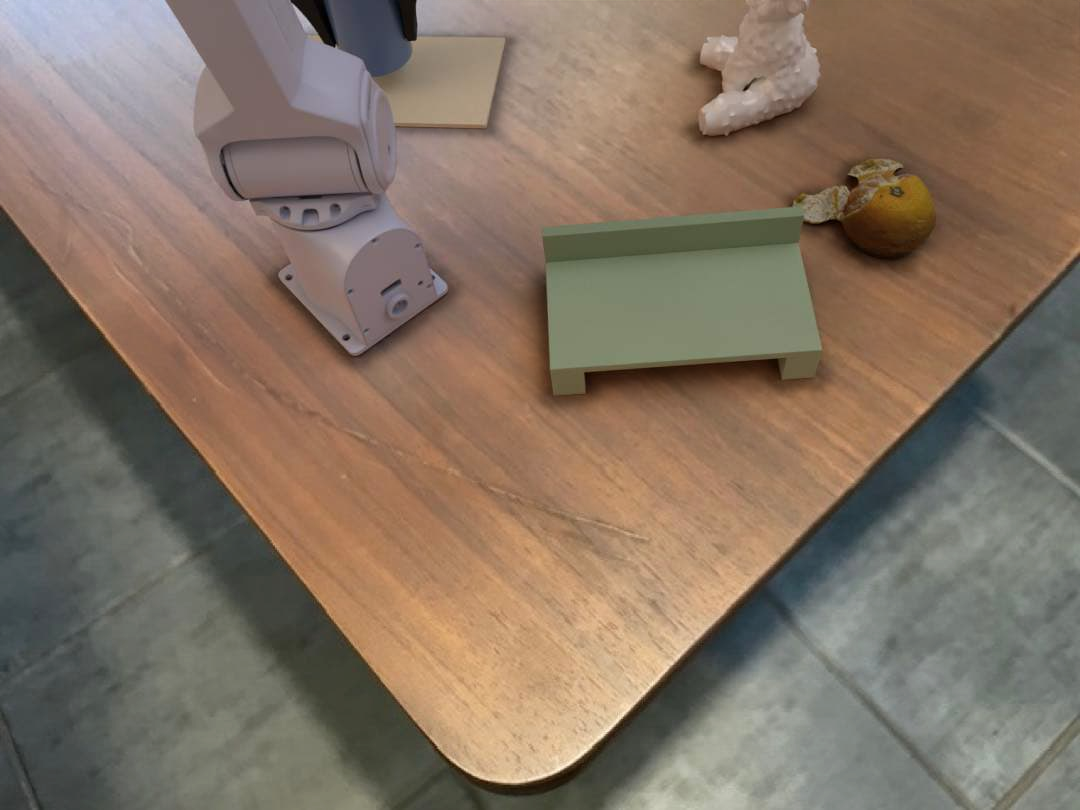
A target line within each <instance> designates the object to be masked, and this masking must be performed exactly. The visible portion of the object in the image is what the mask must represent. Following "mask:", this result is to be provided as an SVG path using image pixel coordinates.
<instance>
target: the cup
mask: <svg viewBox="0 0 1080 810" xmlns="http://www.w3.org/2000/svg"><path fill="white" fill-rule="evenodd" d="M322 2H323V5H324V8H325V11H326V14H327V17H328V21H329V24H330V27H331V30H332V33H333V36H334V39H335V43H336V46H337V49H339V50H342V51H344V52H347V53H349V54H351V55H354V56H356V57H358V58H360V59H362V60H363V62H364V65H365V67H366V70H367V71H368V72H369V73H370V75H371V77H381V76H385V75H388V74H391V73H393V72H395V71H397V70H399V69H400V68H401V67H403V66H404V65H405V64H406V63H407V62H408V60H409V59H410V57H411V55H412V52H413V45H412V41H408V42H407V39H406V35H405V32H404V26H403V20H402V14H401V8H400V5H399V1H398V0H322Z"/></svg>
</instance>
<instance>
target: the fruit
mask: <svg viewBox="0 0 1080 810" xmlns="http://www.w3.org/2000/svg"><path fill="white" fill-rule="evenodd" d="M904 167H905V166H904V165H903V164H902V163H900V162H898V161H895V160H893V159H889V158H886V159H885V158H868V159H866V160H864V161H863V162H861V163H859V164H857V165H854V166H853V167H851V168H850V171H849V173H847V176H848V177H856V178H857V180H858V183H857V186H854V187H853V188H852V189H851V191H849V189H848V186H845V185H834V186H832V187H826V188H825V189H824V190H822V191H820V192H819V193H816V194H807V193H805V192H802V193H801V194H799V195H798V196H797V197H795V198H793V202H792V206H791V207H798V206H802V207H803V211H804V215H805V216H804V220H803V222H806V223H808V224H809V223H810V224H813V225H814V224H815V225H819V224H820V223H823V222H827V221H828V220H837V221H840V223H841V224H842V228H843V230H844V231H845V233H846V235H847V237H848V239H849V240H850V242H851V243H852V244H854V245H856V246H857V247H858V248H859V249H860V250H861V251H862V252H863V253H864V254H867V255H869V256H872V257H876V258H882V259H897V258H900V257H904V256H906V255H908V254H910V253H912V252H914V251H915V250H916V249H918V247H920V246H921V245H923V244H925V242H927V240H928V238H930V235H932V234H931V233H932V232H933V230H934V229H935V227H936V224H937V215H936V206H935V204H934V200H933V197H932V194H931V191H930V190H929V188H928V187H927V186H926V185H925V183H924V181H923V180H922V179H920V177H919V176H917V175H915V174H910V173H905V174H900V175H899V174H898V175H895V173H897V172H899V171H901V170H902V169H904Z"/></svg>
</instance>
